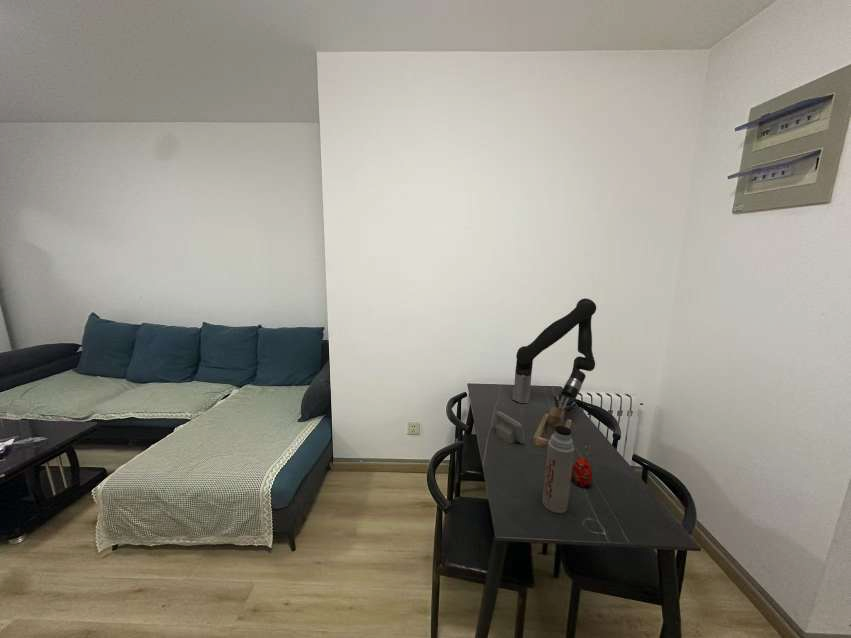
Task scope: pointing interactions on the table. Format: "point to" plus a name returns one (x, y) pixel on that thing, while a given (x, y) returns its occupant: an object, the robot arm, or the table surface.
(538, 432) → the chute
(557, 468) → the thermos bottle
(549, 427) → the block
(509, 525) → the table surface
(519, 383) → the robot arm
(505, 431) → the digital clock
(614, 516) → the table surface
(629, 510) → the table surface
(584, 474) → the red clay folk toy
